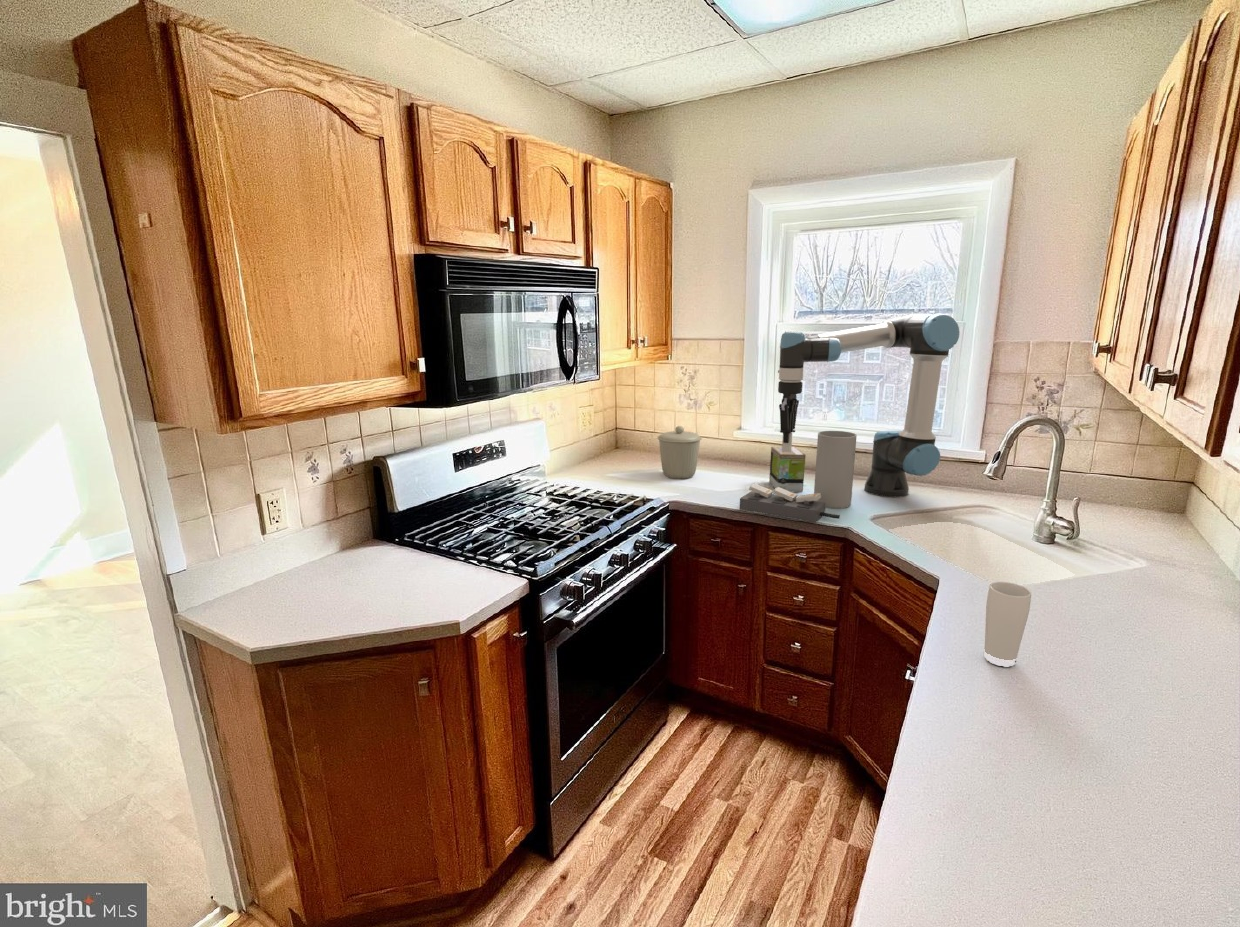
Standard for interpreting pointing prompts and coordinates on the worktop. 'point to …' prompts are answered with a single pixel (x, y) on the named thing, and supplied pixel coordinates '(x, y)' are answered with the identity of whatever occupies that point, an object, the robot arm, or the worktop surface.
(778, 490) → the rocker
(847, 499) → the cylinder vase
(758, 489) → the rocker
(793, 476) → the tea box
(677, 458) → the canister
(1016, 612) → the drinking glass
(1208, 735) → the worktop surface
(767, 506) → the power strip
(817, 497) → the rocker
